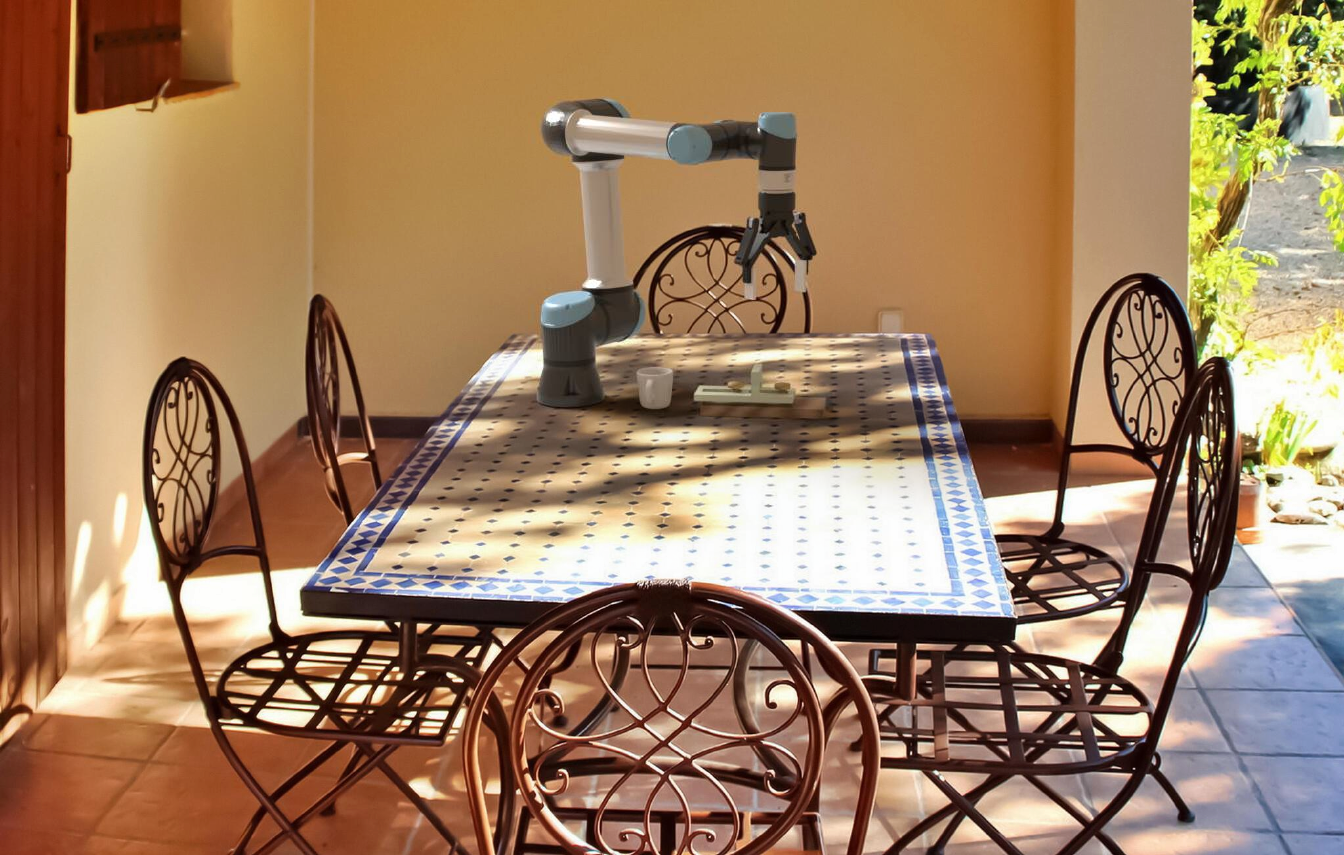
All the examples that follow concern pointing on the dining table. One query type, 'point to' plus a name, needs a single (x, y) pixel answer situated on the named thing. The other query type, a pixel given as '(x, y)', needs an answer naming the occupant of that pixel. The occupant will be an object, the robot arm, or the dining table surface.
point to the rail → (766, 406)
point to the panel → (745, 392)
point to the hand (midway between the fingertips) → (775, 295)
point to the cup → (655, 387)
